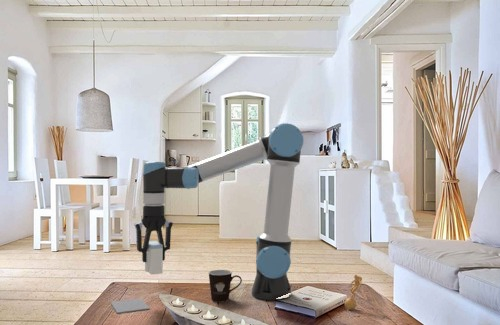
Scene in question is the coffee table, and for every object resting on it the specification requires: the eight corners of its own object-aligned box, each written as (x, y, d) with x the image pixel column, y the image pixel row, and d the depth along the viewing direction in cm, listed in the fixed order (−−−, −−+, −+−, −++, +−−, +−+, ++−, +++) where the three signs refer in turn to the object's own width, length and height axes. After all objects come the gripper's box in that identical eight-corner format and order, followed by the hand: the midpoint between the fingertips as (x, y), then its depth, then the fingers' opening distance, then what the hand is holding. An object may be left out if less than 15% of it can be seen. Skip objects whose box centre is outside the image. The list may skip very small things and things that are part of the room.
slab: (155, 268, 171) (156, 241, 171) (162, 273, 163) (162, 244, 163) (145, 269, 169) (145, 241, 169) (151, 274, 161) (151, 245, 161)
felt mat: (141, 299, 173) (141, 298, 173) (149, 309, 161) (149, 308, 161) (110, 303, 168) (110, 302, 168) (117, 313, 156) (117, 312, 156)
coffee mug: (204, 301, 171) (204, 273, 171) (214, 295, 179) (214, 268, 179) (233, 304, 166) (233, 276, 166) (242, 298, 174) (242, 271, 174)
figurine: (341, 306, 165) (341, 272, 165) (357, 305, 166) (357, 271, 166) (348, 313, 157) (348, 277, 157) (366, 313, 157) (366, 277, 157)
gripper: (174, 203, 173) (173, 266, 173) (127, 204, 166) (127, 270, 166) (180, 204, 167) (179, 270, 166) (131, 206, 159) (131, 275, 159)
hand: (153, 270), depth 166 cm, fingers closed on slab, 4 cm apart
